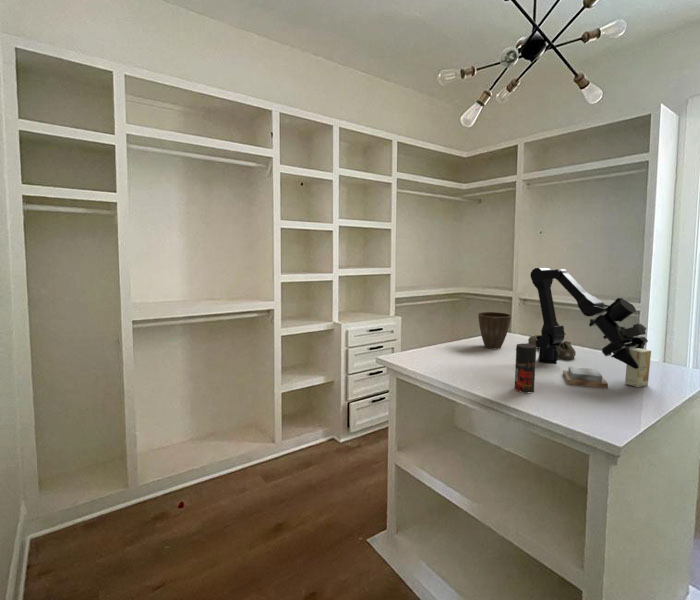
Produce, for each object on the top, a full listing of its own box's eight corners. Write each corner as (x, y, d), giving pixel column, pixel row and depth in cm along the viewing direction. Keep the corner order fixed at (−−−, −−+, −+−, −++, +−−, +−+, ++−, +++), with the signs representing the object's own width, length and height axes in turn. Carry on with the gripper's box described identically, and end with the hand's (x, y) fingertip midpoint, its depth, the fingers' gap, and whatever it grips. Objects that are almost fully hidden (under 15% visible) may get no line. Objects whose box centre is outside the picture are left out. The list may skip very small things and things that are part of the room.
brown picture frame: (567, 383, 137) (567, 374, 136) (563, 374, 148) (563, 365, 147) (607, 388, 132) (608, 378, 132) (600, 377, 143) (601, 368, 143)
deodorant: (510, 388, 132) (512, 344, 131) (523, 386, 135) (525, 343, 133) (524, 394, 127) (526, 348, 125) (538, 391, 129) (540, 346, 128)
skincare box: (637, 387, 133) (640, 352, 131) (624, 384, 137) (626, 349, 135) (648, 385, 135) (652, 350, 134) (635, 381, 139) (638, 347, 138)
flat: (545, 343, 200) (546, 328, 199) (582, 360, 167) (583, 343, 167) (523, 343, 200) (524, 328, 199) (556, 360, 167) (557, 343, 167)
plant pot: (513, 346, 192) (515, 313, 190) (504, 352, 180) (505, 317, 178) (483, 342, 201) (484, 311, 199) (472, 347, 189) (473, 314, 188)
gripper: (614, 318, 132) (648, 357, 124) (643, 314, 141) (678, 350, 133) (588, 336, 140) (619, 375, 132) (618, 331, 149) (649, 367, 140)
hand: (642, 366), depth 134 cm, fingers closed on skincare box, 6 cm apart
